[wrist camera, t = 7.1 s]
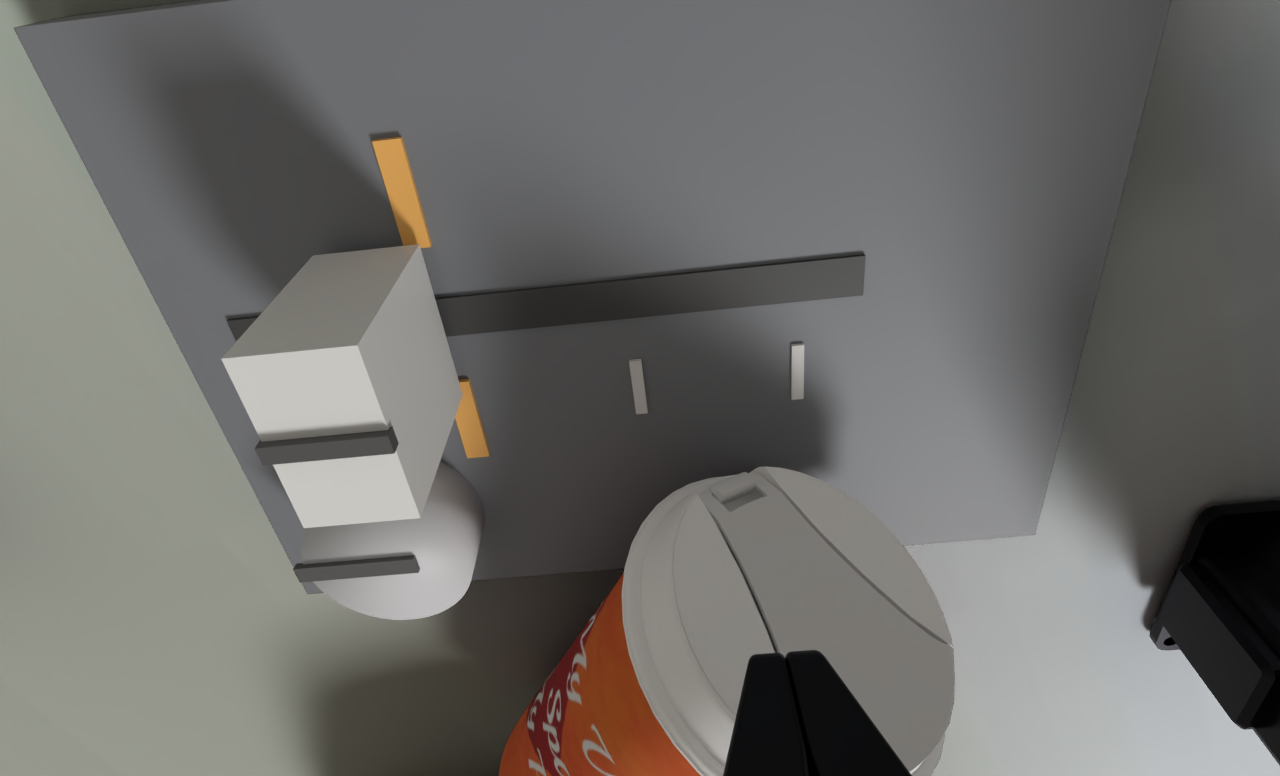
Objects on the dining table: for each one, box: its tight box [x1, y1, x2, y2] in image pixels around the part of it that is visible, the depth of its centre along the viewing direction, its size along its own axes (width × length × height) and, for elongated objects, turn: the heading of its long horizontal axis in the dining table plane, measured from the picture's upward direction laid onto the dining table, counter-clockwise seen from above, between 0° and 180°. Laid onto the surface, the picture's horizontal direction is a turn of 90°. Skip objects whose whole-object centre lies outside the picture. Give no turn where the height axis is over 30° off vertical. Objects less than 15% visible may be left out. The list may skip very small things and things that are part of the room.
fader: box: [221, 244, 463, 528], centre depth 16 cm, size 2×4×5 cm, turn 6°
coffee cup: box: [499, 467, 955, 776], centre depth 21 cm, size 8×8×15 cm
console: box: [14, 0, 1171, 620], centre depth 18 cm, size 22×16×4 cm
